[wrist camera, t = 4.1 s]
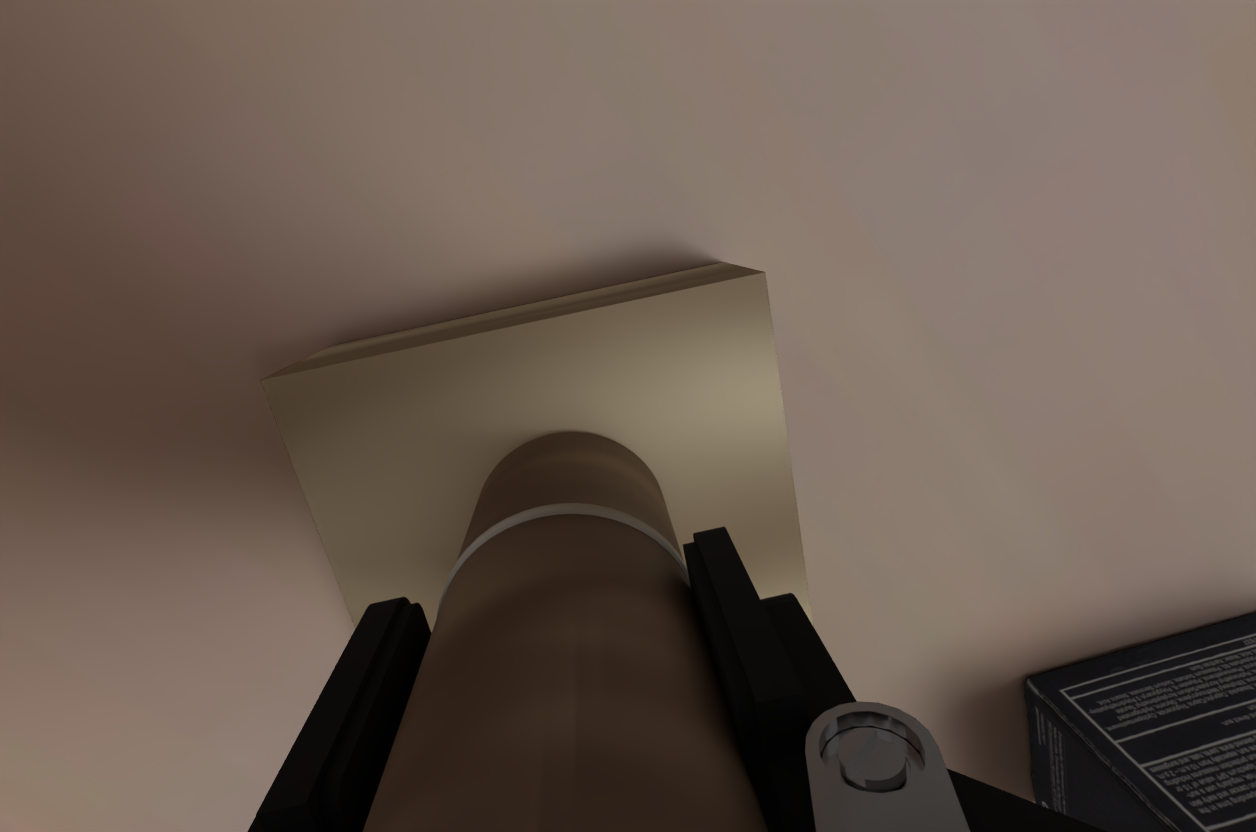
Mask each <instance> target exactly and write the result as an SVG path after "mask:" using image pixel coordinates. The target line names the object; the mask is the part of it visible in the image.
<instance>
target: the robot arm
mask: <svg viewBox="0 0 1256 832" xmlns="http://www.w3.org/2000/svg"><path fill="white" fill-rule="evenodd" d="M693 538H694V542H691V543H686V544H683V550H684V555H685V560H686V565H687V570H688V575H689V581H690V586H691V591H692V594H693V597H694V600H695V603H696V607H697V610H698V613H699V616H700V620H701V623H702V626H703V629H704V633H705V636H706V639H707V642H708V646H709V649H710V652H711V655H712V658H713V662H714V665H715V668H716V671H717V675H718V678H719V681H720V684H721V688H722V691H723V694H724V697H725V701H726V704H727V707H728V710H729V713H730V717H731V720H732V723H733V726H734V730H735V733H736V736H737V739H738V743H739V746H740V749H741V752H742V756H743V759H744V762H745V765H746V769H747V772H748V775H749V778H750V781H751V783H752V785H753V787H754V789H755V791H756V794H757V797H758V800H759V803H760V806H761V810H762V813H763V816H764V819H765V822H766V826H767V829H768V832H1107V831H1105V830H1102V829H1100V828H1097V827H1094V826H1092V825H1089V824H1087V823H1084V822H1082V821H1079V820H1077V819H1074V818H1072V817H1069V816H1066V815H1064V814H1061V813H1059V812H1056V811H1054V810H1051V809H1049V808H1046V807H1044V806H1041V805H1038V804H1036V803H1033V802H1031V801H1028V800H1026V799H1023V798H1021V797H1018V796H1016V795H1013V794H1011V793H1008V792H1005V791H1003V790H1000V789H998V788H995V787H993V786H990V785H988V784H985V783H983V782H980V781H977V780H975V779H972V778H970V777H967V776H965V775H962V774H960V773H957V772H955V771H952V770H949V769H947V768H946V766H945V763H944V760H943V758H942V755H941V752H940V750H939V747H938V745H937V744H936V742H935V740H934V738H933V737H932V735H931V733H930V732H929V730H928V729H926V728H925V727H924V726H923V725H922V724H921V723H920V722H919V721H918V720H917V719H916V718H914V717H912V716H911V715H909V714H907V713H905V712H903V711H901V710H900V709H898V708H895V707H891V706H888V705H884V704H881V703H874V702H857V701H856V700H855V698H854V696H853V694H852V693H851V691H850V689H849V688H848V686H847V684H846V682H845V681H844V679H843V677H842V675H841V674H840V672H839V670H838V669H837V667H836V665H835V663H834V662H833V660H832V658H831V656H830V655H829V653H828V651H827V650H826V648H825V646H824V644H823V643H822V641H821V639H820V637H819V636H818V634H817V632H816V631H815V629H814V627H813V625H812V624H811V622H810V620H809V618H808V617H807V615H806V613H805V612H804V610H803V608H802V606H801V605H800V603H799V601H798V599H797V598H796V597H795V595H794V594H792V593H787V594H782V595H778V596H773V597H769V598H764V599H760V598H759V596H758V594H757V592H756V589H755V587H754V585H753V583H752V581H751V579H750V577H749V575H748V573H747V571H746V569H745V567H744V565H743V562H742V560H741V558H740V556H739V554H738V552H737V550H736V548H735V546H734V544H733V542H732V540H731V538H730V535H729V533H728V531H727V529H726V528H725V527H719V528H715V529H710V530H706V531H701V532H696V533H693ZM431 634H432V633H431V631H430V628H429V625H428V622H427V619H426V616H425V613H424V611H423V608H422V606H421V605H420V604H419V603H413V604H411V603H410V601H409V600H408V598H406V597H400V598H395V599H391V600H386V601H381V602H377V603H372V604H370V605H369V606H368V607H367V608H366V610H365V612H364V614H363V616H362V618H361V620H360V622H359V623H358V625H357V627H356V629H355V631H354V633H353V635H352V636H351V638H350V640H349V642H348V644H347V646H346V648H345V650H344V651H343V653H342V655H341V657H340V659H339V661H338V663H337V664H336V666H335V668H334V670H333V672H332V674H331V676H330V677H329V679H328V681H327V683H326V685H325V687H324V689H323V691H322V692H321V694H320V696H319V698H318V700H317V702H316V704H315V705H314V707H313V709H312V711H311V713H310V715H309V717H308V719H307V720H306V722H305V724H304V726H303V728H302V730H301V732H300V733H299V735H298V737H297V739H296V741H295V743H294V745H293V746H292V748H291V750H290V752H289V754H288V756H287V758H286V760H285V761H284V763H283V765H282V767H281V769H280V771H279V773H278V774H277V776H276V778H275V780H274V782H273V784H272V786H271V788H270V789H269V791H268V793H267V795H266V797H265V799H264V801H263V802H262V804H261V806H260V808H259V810H258V812H257V814H256V817H255V819H254V821H253V823H252V825H251V826H250V828H249V830H248V832H363V829H364V826H365V823H366V821H367V818H368V815H369V812H370V809H371V806H372V803H373V800H374V798H375V795H376V792H377V789H378V786H379V783H380V780H381V777H382V775H383V772H384V769H385V766H386V763H387V760H388V757H389V754H390V752H391V749H392V746H393V743H394V740H395V737H396V734H397V731H398V728H399V726H400V723H401V720H402V717H403V714H404V711H405V708H406V705H407V703H408V700H409V697H410V694H411V691H412V688H413V685H414V682H415V680H416V677H417V674H418V671H419V668H420V665H421V662H422V659H423V657H424V654H425V651H426V648H427V645H428V642H429V639H430V636H431Z"/></svg>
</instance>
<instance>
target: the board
mask: <svg viewBox="0 0 1256 832" xmlns="http://www.w3.org/2000/svg"><path fill="white" fill-rule="evenodd" d="M260 381H261V384H262V386H263V389H264V392H265V394H266V397H267V399H268V402H269V405H270V407H271V410H272V412H273V415H274V418H275V420H276V423H277V425H278V428H279V431H280V433H281V436H282V439H283V441H284V444H285V446H286V449H287V452H288V454H289V457H290V459H291V462H292V465H293V467H294V470H295V472H296V475H297V478H298V480H299V483H300V485H301V488H302V491H303V493H304V496H305V498H306V501H307V504H308V506H309V509H310V511H311V514H312V517H313V519H314V522H315V524H316V527H317V530H318V532H319V535H320V537H321V540H322V543H323V545H324V548H325V550H326V553H327V556H328V558H329V561H330V563H331V566H332V569H333V571H334V574H335V577H336V579H337V582H338V584H339V587H340V590H341V592H342V595H343V597H344V600H345V603H346V605H347V608H348V610H349V613H350V616H351V618H352V621H353V623H354V626H355V629H356V627H357V625H358V623H359V622H360V620H361V618H362V616H363V614H364V612H365V610H366V608H367V607H368V606H369V605H370V604H372V603H377V602H381V601H386V600H391V599H395V598H400V597H406V598H408V600H409V601H410V603H411V604H413V603H419V604H420V605H421V606H422V608H423V611H424V613H425V616H426V619H427V622H428V625H429V628H430V631H431V633H432V631H433V628H434V625H435V622H436V619H437V612H438V607H439V602H440V598H441V596H442V593H443V590H444V587H445V585H446V582H447V579H448V577H449V574H450V573H451V571H452V569H453V567H454V565H455V564H456V562H457V559H458V556H459V553H460V550H461V547H462V544H463V542H464V539H465V536H466V533H467V530H468V527H469V524H470V521H471V519H472V516H473V513H474V510H475V507H476V504H477V501H478V498H479V496H480V493H481V490H482V488H483V485H484V483H485V482H486V480H487V478H488V476H489V475H490V473H491V472H492V471H493V469H494V468H495V467H496V465H497V464H498V463H499V462H500V461H501V460H502V459H503V458H504V457H505V456H507V455H508V454H509V453H510V452H512V451H513V450H514V449H516V448H518V447H519V446H521V445H523V444H524V443H526V442H529V441H531V440H533V439H536V438H538V437H542V436H546V435H549V434H555V433H562V432H581V433H590V434H594V435H599V436H602V437H605V438H608V439H611V440H613V441H615V442H617V443H619V444H621V445H623V446H625V447H626V448H628V449H629V450H631V451H632V452H633V453H635V454H636V455H637V456H638V457H639V458H640V459H641V460H642V461H643V462H644V463H645V464H646V465H647V466H648V468H649V469H650V470H651V471H652V473H653V475H654V476H655V478H656V479H657V481H658V484H659V486H660V488H661V491H662V494H663V497H664V500H665V503H666V506H667V510H668V513H669V516H670V519H671V522H672V526H673V529H674V532H675V535H676V538H677V542H678V545H679V548H680V551H681V554H682V558H683V561H684V563H685V564H686V560H685V555H684V550H683V544H686V543H691V542H694V538H693V533H696V532H701V531H706V530H710V529H715V528H719V527H725V528H726V529H727V531H728V533H729V535H730V538H731V540H732V542H733V544H734V546H735V548H736V550H737V552H738V554H739V556H740V558H741V560H742V562H743V565H744V567H745V569H746V571H747V573H748V575H749V577H750V579H751V581H752V583H753V585H754V587H755V589H756V592H757V594H758V596H759V598H760V599H764V598H769V597H773V596H778V595H782V594H787V593H792V594H794V595H795V597H796V598H797V599H798V601H799V603H800V605H801V606H802V608H803V610H804V612H805V613H806V615H807V617H808V618H809V620H810V622H811V624H812V625H813V621H812V614H811V607H810V599H809V592H808V584H807V577H806V570H805V562H804V555H803V547H802V540H801V533H800V525H799V518H798V511H797V503H796V496H795V488H794V481H793V474H792V466H791V459H790V451H789V444H788V437H787V429H786V422H785V415H784V407H783V400H782V392H781V385H780V378H779V370H778V363H777V356H776V348H775V341H774V333H773V326H772V319H771V311H770V304H769V296H768V289H767V282H766V274H765V272H763V271H758V270H754V269H750V268H746V267H742V266H738V265H734V264H729V263H725V262H722V263H717V264H713V265H708V266H703V267H699V268H694V269H689V270H685V271H680V272H675V273H671V274H666V275H661V276H657V277H652V278H647V279H643V280H638V281H633V282H629V283H624V284H619V285H615V286H610V287H605V288H600V289H596V290H591V291H586V292H582V293H577V294H572V295H568V296H563V297H558V298H554V299H549V300H544V301H540V302H535V303H530V304H526V305H521V306H516V307H512V308H507V309H502V310H498V311H493V312H488V313H484V314H479V315H474V316H470V317H465V318H460V319H455V320H451V321H446V322H441V323H437V324H432V325H427V326H423V327H418V328H413V329H409V330H404V331H399V332H395V333H390V334H385V335H381V336H376V337H371V338H367V339H362V340H357V341H353V342H348V343H343V344H339V345H334V346H329V347H327V348H325V349H323V350H321V351H319V352H317V353H315V354H313V355H311V356H309V357H307V358H305V359H303V360H301V361H299V362H297V363H295V364H292V365H290V366H288V367H286V368H284V369H282V370H280V371H278V372H276V373H274V374H272V375H270V376H268V377H266V378H264V379H262V380H260ZM686 566H687V565H686Z"/></svg>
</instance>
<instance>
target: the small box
mask: <svg viewBox="0 0 1256 832" xmlns="http://www.w3.org/2000/svg"><path fill="white" fill-rule="evenodd" d="M1025 699H1026V704H1027V706H1028V715H1027V717H1028V719H1029V728H1030V739H1031V740H1030V742H1031V756H1032V772H1031V775H1032V781H1033V786H1034V792H1035V799H1036V804H1038V805H1041V806H1044V807H1046V808H1049V809H1051V810H1054V811H1056V812H1059V813H1061V814H1064V815H1066V816H1069V817H1072V818H1074V819H1077V820H1079V821H1082V822H1084V823H1087V824H1089V825H1092V826H1094V827H1097V828H1100V829H1102V830H1105V831H1107V832H1256V613H1255V614H1251V615H1247V616H1244V617H1241V618H1237V619H1233V620H1230V621H1227V622H1223V623H1219V624H1215V625H1212V626H1209V627H1205V628H1201V629H1198V630H1195V631H1192V632H1188V633H1184V634H1181V635H1177V636H1173V637H1170V638H1166V639H1163V640H1159V641H1156V642H1152V643H1149V644H1145V645H1142V646H1139V647H1136V648H1131V649H1128V650H1124V651H1121V652H1117V653H1114V654H1110V655H1107V656H1103V657H1100V658H1096V659H1093V660H1088V661H1085V662H1081V663H1079V664H1074V665H1071V666H1068V667H1064V668H1061V669H1057V670H1053V671H1050V672H1047V673H1043V674H1040V675H1037V676H1033V677H1030V678H1028V680H1027V682H1026V684H1025Z"/></svg>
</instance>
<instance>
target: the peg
mask: <svg viewBox="0 0 1256 832" xmlns="http://www.w3.org/2000/svg"><path fill="white" fill-rule="evenodd" d="M363 832H768V829H767V826H766V822H765V819H764V816H763V813H762V810H761V806H760V803H759V800H758V797H757V794H756V791H755V789H754V787H753V785H752V783H751V781H750V778H749V775H748V772H747V769H746V765H745V762H744V759H743V756H742V752H741V749H740V746H739V743H738V739H737V736H736V733H735V730H734V726H733V723H732V720H731V717H730V713H729V710H728V707H727V704H726V701H725V697H724V694H723V691H722V688H721V684H720V681H719V678H718V675H717V671H716V668H715V665H714V662H713V658H712V655H711V652H710V649H709V646H708V642H707V639H706V636H705V633H704V629H703V626H702V623H701V620H700V616H699V613H698V610H697V607H696V603H695V600H694V597H693V594H692V591H691V586H690V581H689V575H688V570H687V566H686V564H685V563H684V561H683V558H682V554H681V551H680V548H679V545H678V542H677V538H676V535H675V532H674V529H673V526H672V522H671V519H670V516H669V513H668V510H667V506H666V503H665V500H664V497H663V494H662V491H661V488H660V486H659V484H658V481H657V479H656V478H655V476H654V475H653V473H652V471H651V470H650V469H649V468H648V466H647V465H646V464H645V463H644V462H643V461H642V460H641V459H640V458H639V457H638V456H637V455H636V454H635V453H633V452H632V451H631V450H629V449H628V448H626V447H625V446H623V445H621V444H619V443H617V442H615V441H613V440H611V439H608V438H605V437H602V436H599V435H594V434H590V433H581V432H562V433H555V434H549V435H546V436H542V437H538V438H536V439H533V440H531V441H529V442H526V443H524V444H523V445H521V446H519V447H518V448H516V449H514V450H513V451H512V452H510V453H509V454H508V455H507V456H505V457H504V458H503V459H502V460H501V461H500V462H499V463H498V464H497V465H496V467H495V468H494V469H493V471H492V472H491V473H490V475H489V476H488V478H487V480H486V482H485V483H484V485H483V488H482V490H481V493H480V496H479V498H478V501H477V504H476V507H475V510H474V513H473V516H472V519H471V521H470V524H469V527H468V530H467V533H466V536H465V539H464V542H463V544H462V547H461V550H460V553H459V556H458V559H457V562H456V564H455V565H454V567H453V569H452V571H451V573H450V574H449V577H448V579H447V582H446V585H445V587H444V590H443V593H442V596H441V598H440V602H439V607H438V612H437V619H436V622H435V625H434V628H433V631H432V634H431V636H430V639H429V642H428V645H427V648H426V651H425V654H424V657H423V659H422V662H421V665H420V668H419V671H418V674H417V677H416V680H415V682H414V685H413V688H412V691H411V694H410V697H409V700H408V703H407V705H406V708H405V711H404V714H403V717H402V720H401V723H400V726H399V728H398V731H397V734H396V737H395V740H394V743H393V746H392V749H391V752H390V754H389V757H388V760H387V763H386V766H385V769H384V772H383V775H382V777H381V780H380V783H379V786H378V789H377V792H376V795H375V798H374V800H373V803H372V806H371V809H370V812H369V815H368V818H367V821H366V823H365V826H364V829H363Z"/></svg>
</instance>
